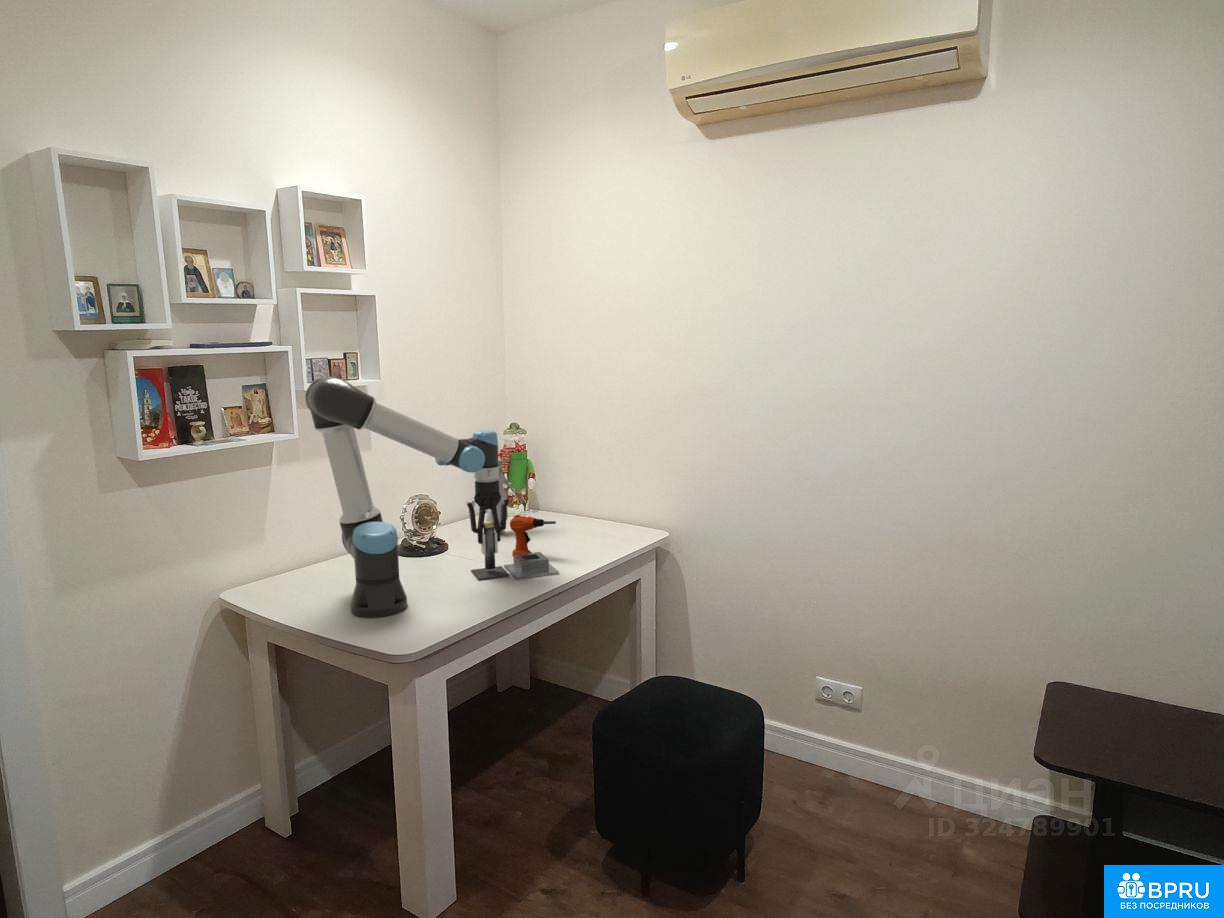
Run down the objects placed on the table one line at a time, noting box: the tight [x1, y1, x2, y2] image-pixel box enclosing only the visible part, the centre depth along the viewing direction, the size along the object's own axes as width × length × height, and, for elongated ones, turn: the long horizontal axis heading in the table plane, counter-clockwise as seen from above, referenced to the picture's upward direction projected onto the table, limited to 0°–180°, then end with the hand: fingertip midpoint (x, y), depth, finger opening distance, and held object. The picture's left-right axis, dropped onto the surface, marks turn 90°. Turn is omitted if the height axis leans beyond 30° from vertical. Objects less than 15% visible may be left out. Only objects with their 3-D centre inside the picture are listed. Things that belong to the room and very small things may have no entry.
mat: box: [470, 565, 511, 581], centre depth 243 cm, size 10×10×1 cm
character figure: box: [485, 456, 516, 536], centre depth 287 cm, size 17×8×30 cm, turn 142°
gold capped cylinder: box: [483, 521, 496, 569], centre depth 241 cm, size 4×4×14 cm
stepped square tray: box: [503, 551, 560, 580], centre depth 246 cm, size 14×14×4 cm
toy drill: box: [509, 514, 557, 557], centre depth 258 cm, size 5×19×15 cm, turn 63°
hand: (489, 552), depth 242 cm, fingers closed on gold capped cylinder, 3 cm apart
